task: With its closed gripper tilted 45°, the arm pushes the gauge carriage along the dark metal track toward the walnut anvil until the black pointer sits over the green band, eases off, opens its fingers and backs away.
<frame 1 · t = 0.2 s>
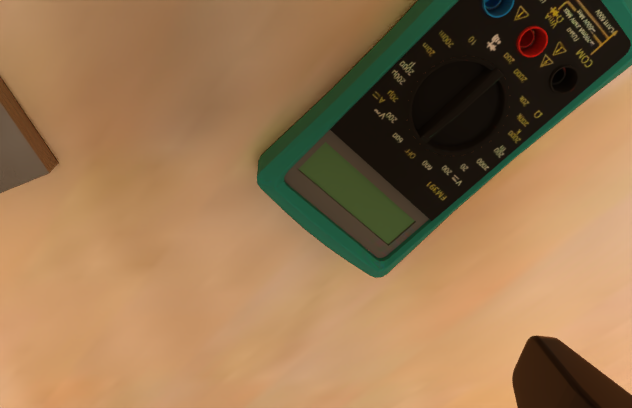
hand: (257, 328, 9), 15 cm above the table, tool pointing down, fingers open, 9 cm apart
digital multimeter: (432, 95, 23), on the table
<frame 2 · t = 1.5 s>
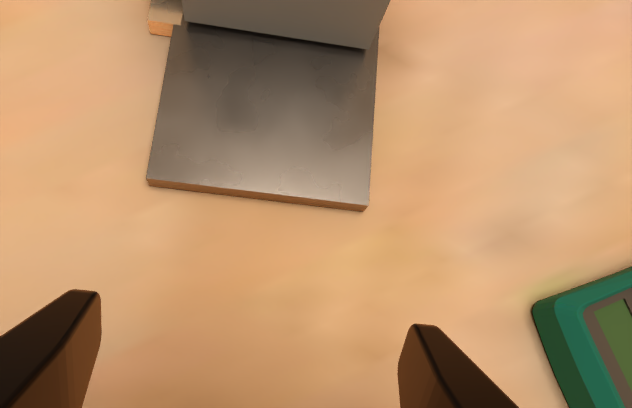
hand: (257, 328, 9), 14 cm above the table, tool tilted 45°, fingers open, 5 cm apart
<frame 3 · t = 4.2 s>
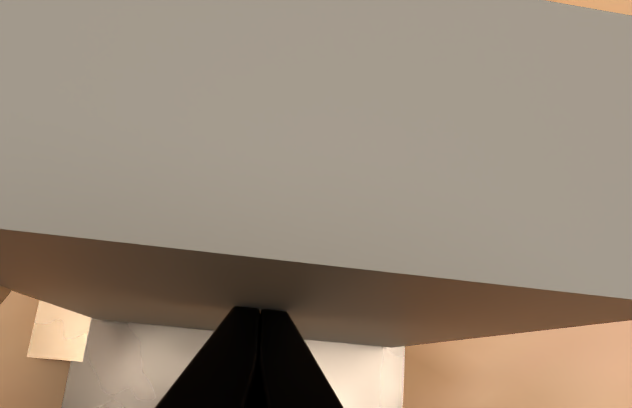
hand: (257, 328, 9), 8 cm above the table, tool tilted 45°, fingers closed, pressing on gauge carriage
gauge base: (254, 272, 17), on the table
gauge carriage: (222, 194, 10), point 7 cm above the table, slide at 1.1 cm, touching gripper
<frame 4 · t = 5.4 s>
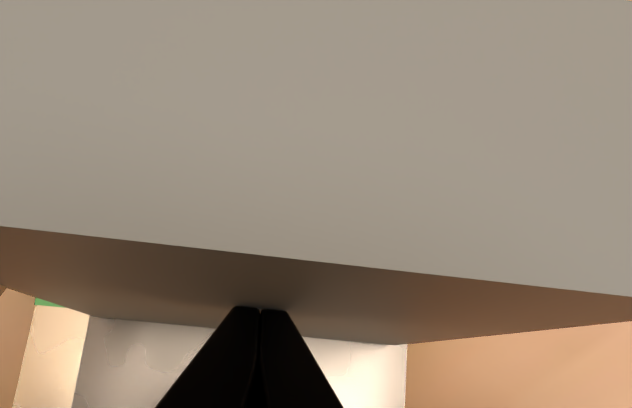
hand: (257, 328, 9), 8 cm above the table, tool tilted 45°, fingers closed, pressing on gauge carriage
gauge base: (239, 400, 16), on the table
gauge carriage: (221, 190, 10), point 7 cm above the table, slide at 4.8 cm, touching gripper
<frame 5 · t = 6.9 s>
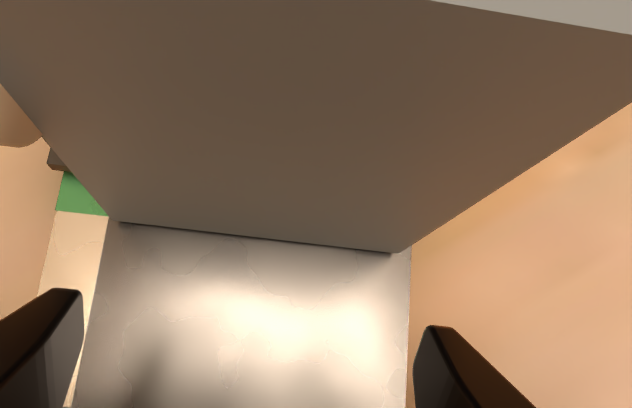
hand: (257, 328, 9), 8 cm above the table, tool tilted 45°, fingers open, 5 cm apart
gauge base: (250, 308, 16), on the table
gauge carriage: (239, 64, 11), point 7 cm above the table, slide at 4.8 cm
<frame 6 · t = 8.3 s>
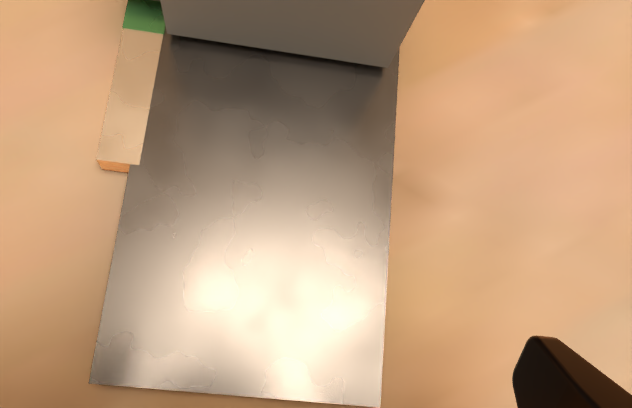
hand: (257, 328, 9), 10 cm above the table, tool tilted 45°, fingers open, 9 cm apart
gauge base: (271, 113, 21), on the table
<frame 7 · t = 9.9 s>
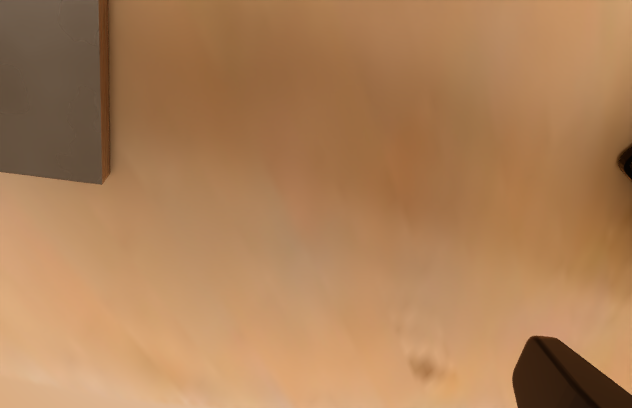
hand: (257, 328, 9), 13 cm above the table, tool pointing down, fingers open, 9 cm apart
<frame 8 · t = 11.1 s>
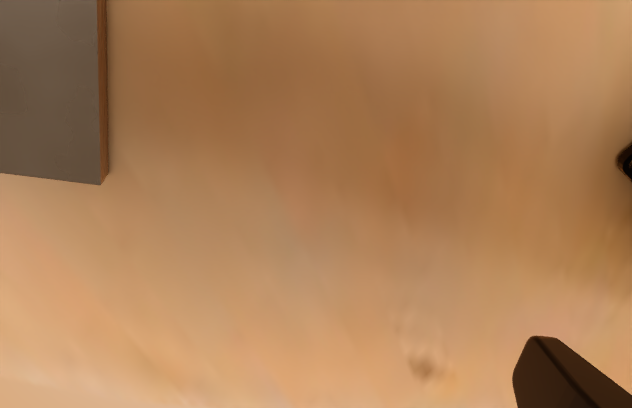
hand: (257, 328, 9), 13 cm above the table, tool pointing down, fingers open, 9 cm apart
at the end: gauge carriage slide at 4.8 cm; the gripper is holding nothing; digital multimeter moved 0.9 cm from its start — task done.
